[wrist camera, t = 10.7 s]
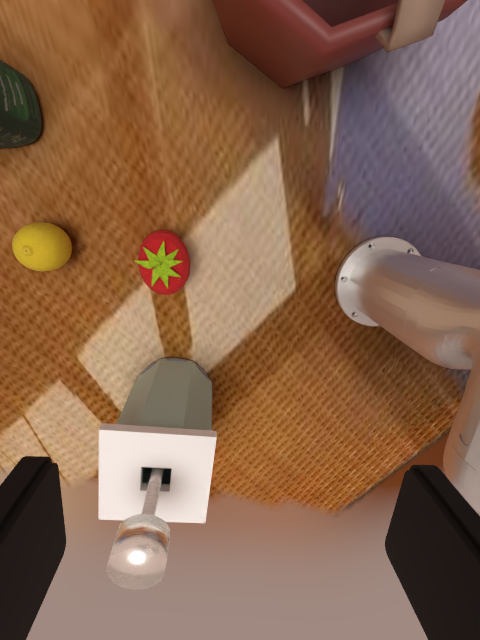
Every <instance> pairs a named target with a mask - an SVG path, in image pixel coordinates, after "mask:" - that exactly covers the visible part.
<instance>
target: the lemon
mask: <svg viewBox="0 0 480 640" xmlns="http://www.w3.org/2000/svg"><path fill="white" fill-rule="evenodd" d="M12 248H13V252H14V255H15V256H16V258H17V259H18V261H19V262H20V263H21V264H23V265H24V266H26V267H28V268H30V269H33V270H37V271H52V270H55V269H58V268H60V267H61V266H63V265H64V264H65V263H66V262H67V261H68V260H69V258H70V256H71V253H72V244H71V241H70V238H69V236H68V235H67V234H66V232H65V231H63V230H62V229H61V228H59V227H58V226H56V225H54V224H50V223H47V222H35V223H31V224H28V225H26V226H24V227H22V228H21V229H20V230H19V231H18V232H17V233H16V234H15V236H14V238H13V242H12Z"/></svg>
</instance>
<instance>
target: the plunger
mask: <svg viewBox="0 0 480 640" xmlns="http://www.w3.org/2000/svg"><path fill="white" fill-rule="evenodd" d="M163 471H164V468H152V472H151V476H150V480H149V484H148V488H147V493H146V497H145V501H144V505H143V509H142V514H137V515H133V516H131V517H128V518H127V519H125V520H124V521H123V522H122V523H121V524H120V526H119V528H118V531H117V535H116V538H115V541H114V545H113V548H112V551H111V555H110V558H109V561H108V565H107V574H108V576H109V578H110V580H111V581H112V582H114V583H115V584H116V585H118V586H120V587H123V588H126V589H132V590H140V589H146V588H149V587H152V586H154V585H155V584H157V583H158V582H159V581H160V580H161V579H162V578H163V576H164V574H165V570H166V562H167V555H168V548H169V540H170V529H169V526H168V525H167V523H166V522H165V521H164V520H162V519H161V518H159V517H157V516H155V512H156V507H157V502H158V497H159V491H160V486H161V481H162V476H163Z"/></svg>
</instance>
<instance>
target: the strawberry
mask: <svg viewBox="0 0 480 640" xmlns="http://www.w3.org/2000/svg"><path fill="white" fill-rule="evenodd" d="M135 262H137V263H138V264H139V270H140V273H141V276H142V278H143V280H144V282H145V283H146V284H147V286H148V287H149V288H150V289H152V290H153V291H155V292H156V293H159V294H164V295H168V294H173V293H175V292H177V291H179V290H180V289H181V288H182V287H183V286H184V285H185V283H186V281H187V279H188V276H189V273H190V258H189V254H188V251H187V248H186V246H185V245H184V243H183V242H182V240H181V239H180V238H179V237H178V236H177V235H175V234H174V233H172V232H170V231H167V230H157V231H154V232H152V233H150V234H149V235H148V236H147V237H146V238H145V239H144V241H143V243H142V245H141V248H140V251H139V257H138V261H135Z"/></svg>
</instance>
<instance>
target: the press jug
mask: <svg viewBox="0 0 480 640" xmlns="http://www.w3.org/2000/svg"><path fill="white" fill-rule="evenodd" d="M216 438H217V432H216V431H212V381H211V380H210V379H209V377H208V375H207V373H206V372H205V371H204V370H203V369H202V368H201V367H200V366H199V365H198V364H196V363H194V362H193V361H190V360H188V359H184V358H179V357H168V358H161V359H160V360H157V361H155V362H153V363H152V364H150V365H149V366H148V367H147V368H146V369H145V370H144V371H143V372H142V374H140V375H139V376H138V377H137V379H136V382H135V384H134V386H133V388H132V390H131V393H130V395H129V397H128V399H127V402H126V404H125V406H124V408H123V410H122V413H121V415H120V417H119V419H118V421H117V424H106V423H102V425H101V427H100V429H99V519H103V520H125V519H127V518H128V517H131V516H133V515H137V514H142V509H143V505H144V501H145V497H146V493H147V488H148V484H149V480H150V476H151V472H152V468H164V471H163V476H162V481H161V486H160V491H159V497H158V502H157V507H156V512H155V516H157V517H159V518H161V519H162V520H164V521H165V522H187V523H205V521H206V513H207V505H208V498H209V491H210V483H211V476H212V468H213V460H214V453H215V445H216Z"/></svg>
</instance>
